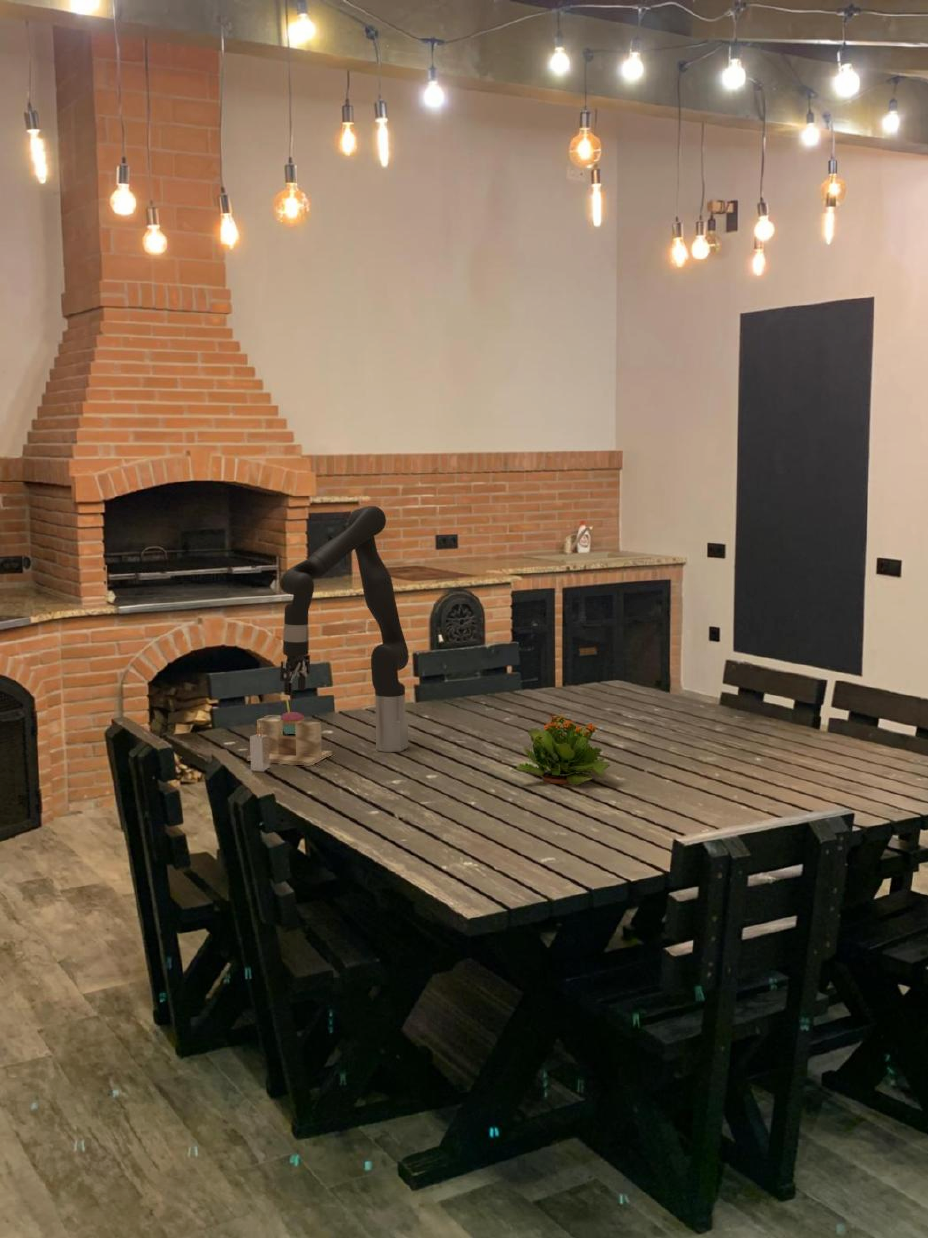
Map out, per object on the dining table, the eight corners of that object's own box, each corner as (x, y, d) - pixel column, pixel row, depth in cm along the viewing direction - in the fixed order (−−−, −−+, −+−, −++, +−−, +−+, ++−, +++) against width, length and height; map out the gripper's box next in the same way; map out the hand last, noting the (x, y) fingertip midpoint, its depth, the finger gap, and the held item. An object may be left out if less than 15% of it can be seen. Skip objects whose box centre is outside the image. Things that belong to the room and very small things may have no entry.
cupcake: (274, 734, 405) (272, 698, 403) (289, 729, 412) (288, 694, 411) (295, 737, 401) (294, 700, 399) (310, 731, 408) (309, 696, 407)
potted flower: (527, 794, 330) (527, 730, 328) (501, 772, 353) (501, 712, 350) (614, 786, 337) (615, 723, 334) (583, 766, 359) (583, 707, 357)
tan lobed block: (331, 756, 375) (330, 718, 373) (310, 767, 362) (308, 728, 360) (270, 750, 382) (269, 714, 381) (247, 761, 369) (246, 723, 368)
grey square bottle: (270, 768, 361) (268, 724, 359) (263, 771, 357) (261, 727, 355) (258, 767, 362) (256, 723, 361) (251, 770, 359) (249, 726, 357)
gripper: (295, 643, 357) (294, 698, 360) (318, 636, 370) (317, 689, 373) (272, 641, 360) (272, 695, 362) (296, 633, 373) (295, 686, 376)
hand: (294, 692), depth 368 cm, fingers open, 8 cm apart
